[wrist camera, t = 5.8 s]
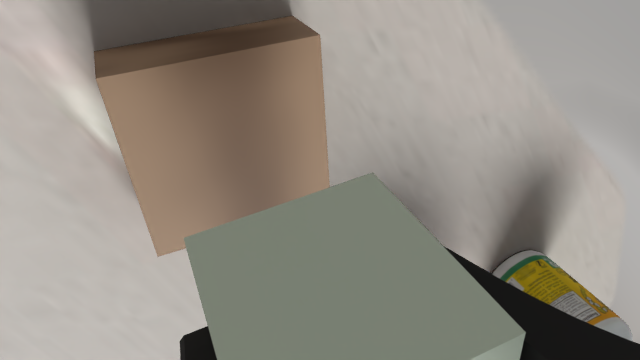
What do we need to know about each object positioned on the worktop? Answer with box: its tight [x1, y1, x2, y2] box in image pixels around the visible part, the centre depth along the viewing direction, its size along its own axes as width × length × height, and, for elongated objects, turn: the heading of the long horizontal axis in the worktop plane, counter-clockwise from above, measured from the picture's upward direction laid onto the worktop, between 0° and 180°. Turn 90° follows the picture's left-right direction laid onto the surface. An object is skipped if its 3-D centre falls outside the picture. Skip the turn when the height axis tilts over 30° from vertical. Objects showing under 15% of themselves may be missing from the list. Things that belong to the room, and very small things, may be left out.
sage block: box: [184, 173, 526, 360], centre depth 10 cm, size 4×4×5 cm
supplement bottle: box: [492, 250, 632, 341], centre depth 30 cm, size 5×5×10 cm
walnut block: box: [94, 16, 330, 257], centre depth 18 cm, size 7×7×3 cm
